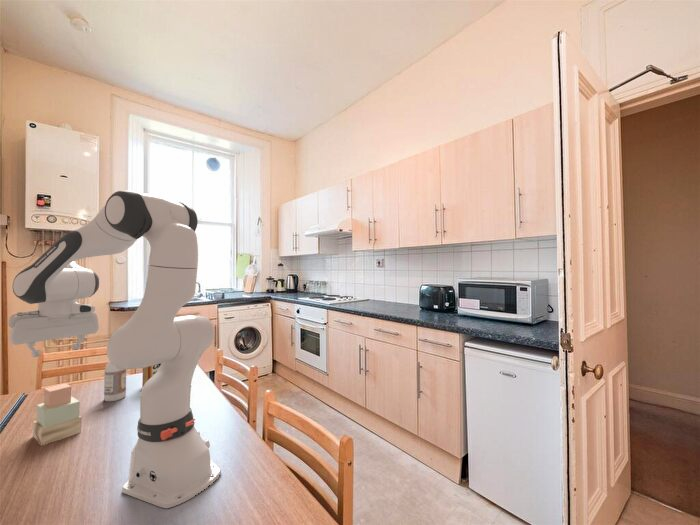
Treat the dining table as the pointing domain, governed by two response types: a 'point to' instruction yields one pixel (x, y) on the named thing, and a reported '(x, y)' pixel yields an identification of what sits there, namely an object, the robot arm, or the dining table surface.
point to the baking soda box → (149, 372)
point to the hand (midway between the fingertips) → (57, 352)
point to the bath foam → (114, 383)
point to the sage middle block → (57, 413)
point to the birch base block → (56, 431)
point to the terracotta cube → (57, 395)
